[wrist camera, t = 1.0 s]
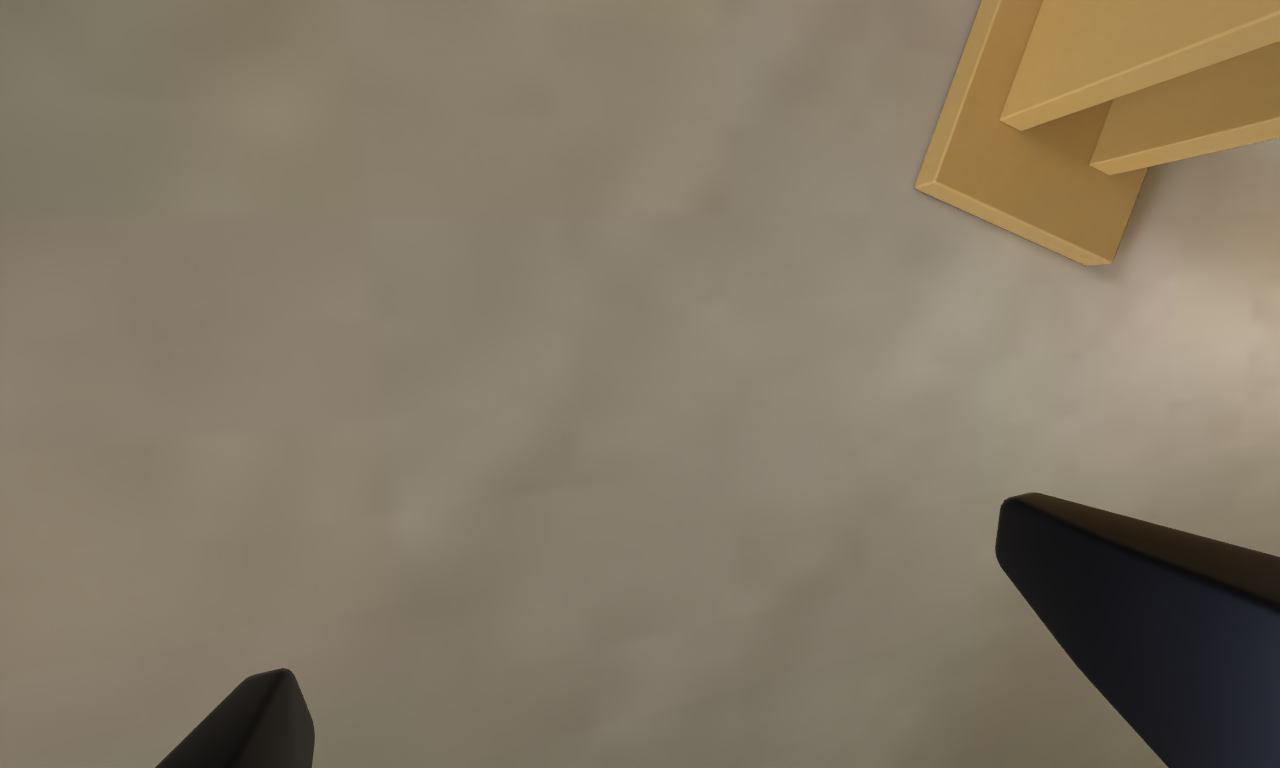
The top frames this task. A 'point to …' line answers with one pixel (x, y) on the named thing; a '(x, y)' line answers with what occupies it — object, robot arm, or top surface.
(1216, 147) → the bracket
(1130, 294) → the top surface
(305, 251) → the top surface
